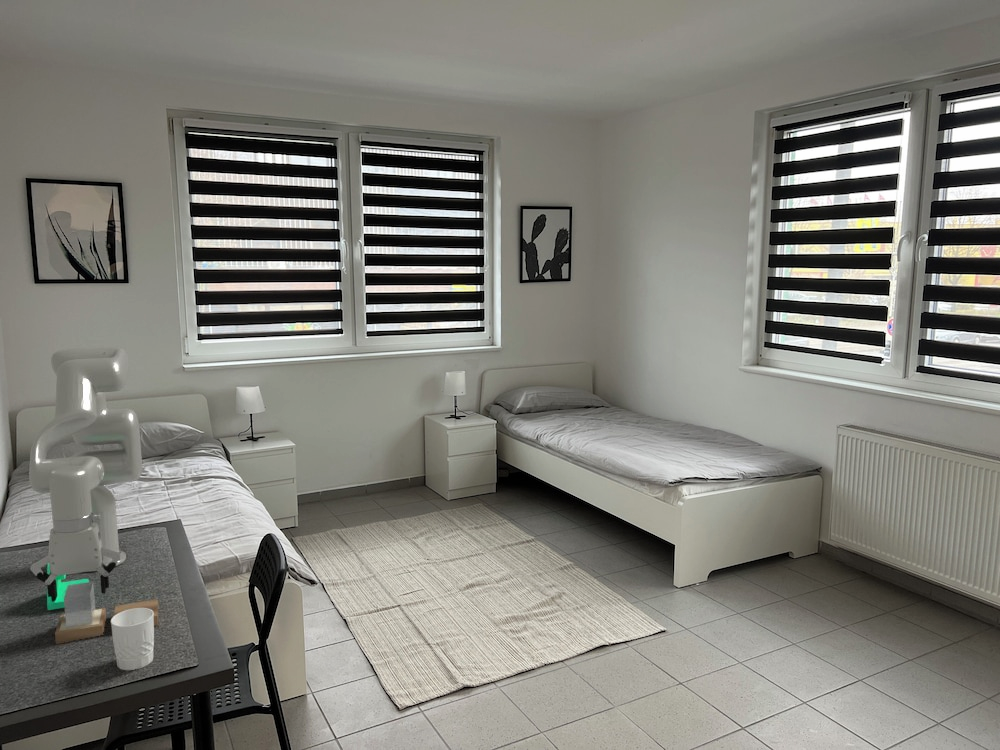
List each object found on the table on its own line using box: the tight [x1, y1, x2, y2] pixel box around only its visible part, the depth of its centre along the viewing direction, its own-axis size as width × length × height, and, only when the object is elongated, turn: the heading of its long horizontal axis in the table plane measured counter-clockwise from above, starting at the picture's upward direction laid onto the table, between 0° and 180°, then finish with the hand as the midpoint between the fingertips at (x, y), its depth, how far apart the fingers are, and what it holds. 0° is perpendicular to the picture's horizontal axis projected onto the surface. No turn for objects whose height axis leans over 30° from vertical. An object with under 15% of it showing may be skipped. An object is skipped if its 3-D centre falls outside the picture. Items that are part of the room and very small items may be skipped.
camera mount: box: [46, 563, 90, 611], centre depth 176 cm, size 12×8×10 cm, turn 25°
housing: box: [64, 581, 96, 628], centre depth 161 cm, size 7×5×7 cm
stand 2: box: [113, 598, 160, 627], centre depth 167 cm, size 9×9×2 cm
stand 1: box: [54, 607, 107, 645], centre depth 162 cm, size 9×9×3 cm
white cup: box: [110, 608, 155, 671], centre depth 149 cm, size 8×8×10 cm
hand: (79, 594), depth 162 cm, fingers open, 9 cm apart
